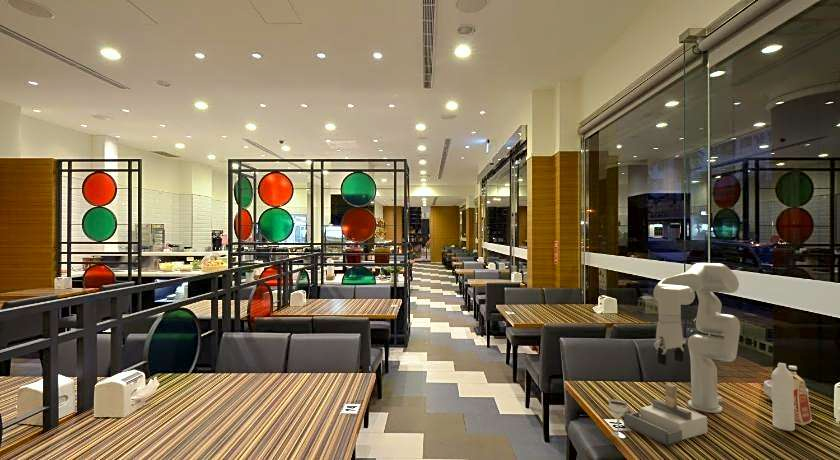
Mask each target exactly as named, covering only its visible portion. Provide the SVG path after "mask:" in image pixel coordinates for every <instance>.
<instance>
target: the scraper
mask: <svg viewBox="0 0 840 460" xmlns="http://www.w3.org/2000/svg"><path fill="white" fill-rule="evenodd" d="M664 386H665V387H664V390H665V391H664V392H665V393H664V395H665V397H664V398H665V399H664V400H665V401H662V400H660V399H657V398H656V399H653V400H652V405H653V407H655V408H658V409H660V410H663V411H665V412H668V413H670V414H673V415H676V416H678V417H681V418H683V419H686V420H690V419H692V416H691V412H689V411H687V410H684V409H681V408H679V407H677V406H678V387H677V385H675V384H671V383H668V384H665V385H664Z"/></svg>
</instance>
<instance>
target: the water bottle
mask: <svg viewBox="0 0 840 460" xmlns="http://www.w3.org/2000/svg"><path fill="white" fill-rule="evenodd" d="M787 367H788V368H787ZM790 370H791V371H792V370H794V371H797V370H798V367H797V365H788V366H787V363H784V362H778V363H777V367H775V368H774V370H773V371H772V373H771V380H772V398H773V399H772V400H771V401H772V402H771V403H772V405H771V407H772V425H773V427H774V428H777V429H779V430H783V431H786V432H787V431H789V432H793V431H795V429H796V423H794V422H795V419H794V386H793V381H794V379H793V376H792V374H791V373H790V372H789V371H790Z"/></svg>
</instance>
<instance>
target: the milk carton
mask: <svg viewBox="0 0 840 460" xmlns="http://www.w3.org/2000/svg"><path fill="white" fill-rule="evenodd" d="M789 372H790V373H791V374H792V376H793V379H794V381H793V386H794V419H795V422H794V424H797V425H801V426H806V425H807V424H810V423H811V422H813V418H812V410H811V405H810V400H809V399H808V398H809V397H808V394H809V393H808V394H807V390H806V388H807V386H806V382H805V380H804V379H803V378H801V376H799V375H798V374H797V371H792V370H789Z"/></svg>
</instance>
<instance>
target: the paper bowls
mask: <svg viewBox="0 0 840 460" xmlns="http://www.w3.org/2000/svg"><path fill="white" fill-rule="evenodd" d="M806 390H807V394H808V399H809V397H810V396H809V389H808V388H807V387H806ZM763 392H764V395H765V394H766V395H767V396H768V397H769V398H770V400H771V401H772V399H773V398H772V379H770V380H764V382H763Z"/></svg>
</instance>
